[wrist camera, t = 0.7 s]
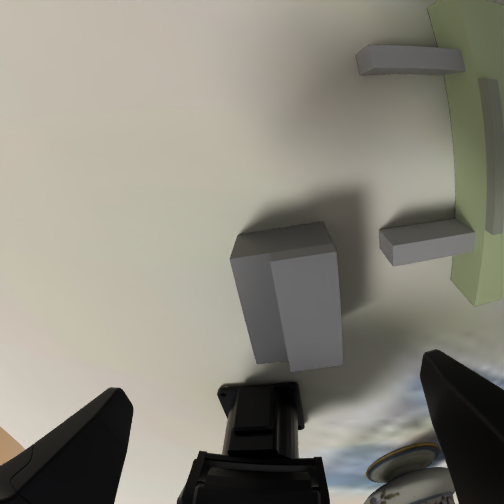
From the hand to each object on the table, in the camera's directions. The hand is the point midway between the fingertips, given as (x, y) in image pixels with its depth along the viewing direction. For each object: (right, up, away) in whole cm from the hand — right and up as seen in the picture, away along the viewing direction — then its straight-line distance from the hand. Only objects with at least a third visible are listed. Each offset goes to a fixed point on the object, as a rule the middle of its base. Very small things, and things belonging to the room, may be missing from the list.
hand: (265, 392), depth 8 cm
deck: (+13, +10, +7) cm, 18 cm away
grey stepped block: (+2, +2, +11) cm, 12 cm away
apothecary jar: (+19, -22, +21) cm, 36 cm away
